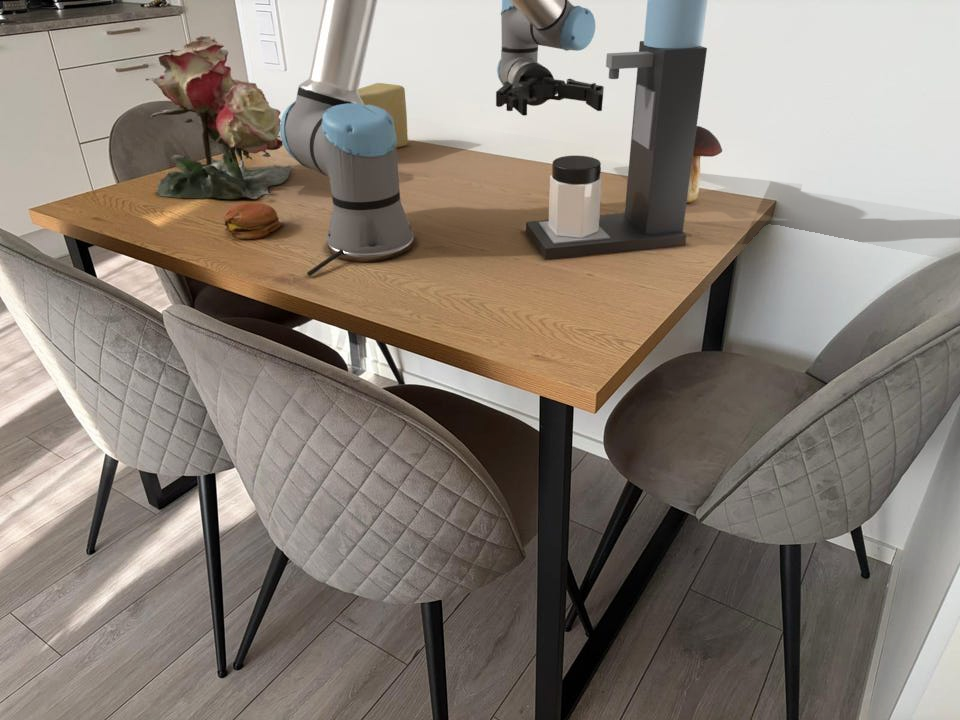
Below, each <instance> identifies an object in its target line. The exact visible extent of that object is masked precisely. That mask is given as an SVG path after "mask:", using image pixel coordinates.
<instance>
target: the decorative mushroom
mask: <svg viewBox="0 0 960 720" xmlns="http://www.w3.org/2000/svg"><path fill="white" fill-rule="evenodd" d="M722 152H723V148H722V146H721V143H720V141H719V139H718V138H717V137H716V136H715V134H713V132H711V131H710V130H709V129H707V128H705V127H703V126H700V125H697V128H696V135H695V143H694V150H693V158H692V165H691V173H690V180H689V188H688V196H687V203H692V202H694V201H696V200H697V198H698V195H699V192H700V183H701V157H704V158H705V157H710V158H711V157H712V158H713V157H716V156H718V155H720V154H721V153H722Z"/></svg>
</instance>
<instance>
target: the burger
mask: <svg viewBox="0 0 960 720" xmlns="http://www.w3.org/2000/svg"><path fill="white" fill-rule="evenodd" d="M222 219H223V220H224V226H225V230H224V231H226V232H228V233H229V235H230V236H235V238H236V239H239V240H255V239H261V238H264V237H266V236H267V235H269V234H270V233H272V232H275V231H277V230H278V229H279V228H280V227H281V223H280V219H279V216H278V213H277V211H276V209H275V208H274V207H272V206H271V205H268V204H266V203H263V202H255V201H253V202H252V201H251V202H245V203H240V204H237V205H235V206H233V207H230V208H229V209H228V210H226V211H225V212H224V214H223V218H222Z"/></svg>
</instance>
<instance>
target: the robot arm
mask: <svg viewBox="0 0 960 720" xmlns="http://www.w3.org/2000/svg"><path fill="white" fill-rule="evenodd" d="M378 1H379V0H324V2H323V6H322V7H323V8H322V12H321V17H320V22H319V27H318V33H317V38H316V43H315V48H314V54H313V58H312V63H311V68H310V69H311V70H310V73H309V77H308V78H307V79H306V80H304V81H303V82H301V83H300V84H298V86H297V87H298V88H297V92H296V97H295V101H293V102H292V103H291V104H290V105H288V106H287V107H286V109H285V110H284V112H283V114H282V116H281V118H280V120H281V122H280V132H279V134H280V138H281V139H280V140H281V141H282V144H283V145H282V146H283V147H284V149H285V150H286V152H287V153H288V154H289V156H291V157H292V158H293V159H294V160H296V161H297V163H299V164H300V165H301V166H303V167H305V168H307V169H310V170H314V171H316V172H318V173H320V174H322V175H324V176H326V177H327V178H329V183H330V184H329V185H330V192H331V200H332V211H331V215H330V216H331V217H330V221H329V230H328V232H327V238H326V243H327V249H328V252H329V254H331V255H330V256H329V257H327V258H326V259H324V260H323V261H321V262H320V263H318V264H317V265H315V266H314V267H312V268H311V269H310V270H308V271H307V273H306V274H307V276H308V277H312V276H313V275H314V274H315V273H317V272H319V270H321V269H322V268H325V266H327V265H328V264H329V263H331V262H332V261H334V260H335V259H337V258H338V259H340V260H344V261H349V262H359V263H360V262H361V263H363V262H364V263H365V262H366V263H368V262H379V261H384V260H390V259H393V258H396V257H399V256H401V255H404V254H405V253H407V252H409V251H410V250H411V249H412V248H413V247H414V245H415V238H414V232H413V228H412V226H411V224H409V222H408V217H407V215H406V212H405V209H404V207H403V204H402V202H401V191H400V177H399V165H398V149H397V148H396V142H397V137H396V132H395V127H394V122H393V119H392V117H391V116H390V114H389V113H388V112H387V111H385V110H383V109H381V108H379V107H377V106H373V105H364V103H363V101H362V99H361V98H360V96H359V93H358V89H360V84H361V79H362V74H363V69H364V64H365V60H366V56H367V51H368V47H369V41H370V37H371V34H372V33H371V32H372V28H373V24H374V19H375V14H376V9H377V6H378V5H377V4H378ZM500 17H501V19H500V23H501V25H500V26H501V49H500V50H501V51H500V59H499V61H498V64H497V67H496V73H497V77H498V80H499V81H500V83H501V85H502V86H501V87H500V88H498V90H496V91H495V107H498V108H501V107H503V106H505V105H506V108H505V109H506V111H507V112H513V111H514V109H515V110H516V111H517V112H518V113H519V114H520V115H521V116H523V117H524V116H528V106H531V107H537V106H541V105H543V104H545V103H546V102H548V101H551V100H553V101H562V100H564V99H565V100H572V101H581V102H585V104H586V105H588V106H589V107H591V108H592V109H593V110H595V111H596V112H602V111H603V100H604V89H605V86H604V85H599V84H597V83H596V82H592V83H589V82H583V81H578V80H576V79H573V78H567V79H566V82H565V80H563V79H555V78H554V75H553V74H552V72H551V71H550V70H549V69H548V68H547V67H546V66H544V65H543V64H541V63H540V62H538V56H539V55H538V54H539V46H542V47H548V48H553V49H559V50H563V51H565V52H568V51H577V52H578V51H582V50H584V49H586V48H587V47H589V45H590V44H591V42H592V41H593V38H594V36H595V32H596V19H595V16H594V14H593V12H592V11H591V10H590V9H589V8H587V7H582V6H581V5H574V4H572V3H571V1H569V0H501V12H500Z"/></svg>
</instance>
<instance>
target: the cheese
mask: <svg viewBox="0 0 960 720" xmlns="http://www.w3.org/2000/svg"><path fill="white" fill-rule="evenodd" d="M358 93H359V96H360V98H361V99H362V101H363V103H364V105H373V106H377V107H379V108H381V109H383V110H385V111H387V112H388V113H389V114H390V116H391V117H392V119H393V122H394V127H395V132H396V137H397V142H396V148H401V147H405V146H407V145H409V140H408V139H409V138H408V137H409V136H408V116H407V115H408V114H407V102H406V91H405V87H404V86H402V85H400V84H393V83H392V84H391V83H385V82H383V83H382V82H376V83H373V84H370V85H366V86H363V87H359V89H358Z"/></svg>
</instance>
